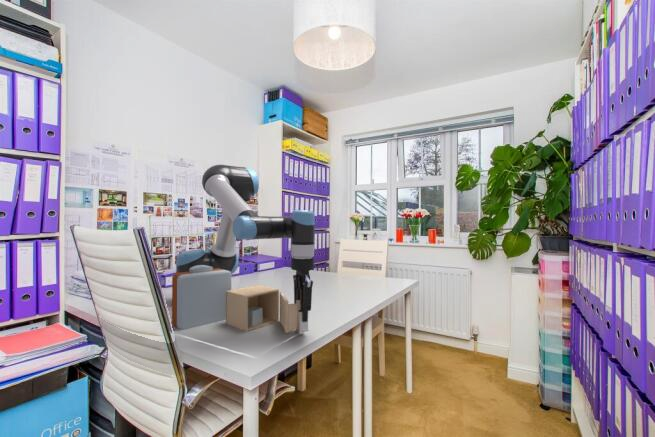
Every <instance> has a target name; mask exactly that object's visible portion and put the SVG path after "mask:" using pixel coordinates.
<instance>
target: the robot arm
mask: <svg viewBox="0 0 655 437" xmlns="http://www.w3.org/2000/svg"><path fill="white" fill-rule="evenodd" d="M259 180H260V179H259V176H258V174H257V172H256V170H254V169H252V168H248V167H245V166H244V167H243V166H233V165H226V164H215V165H212V166H211V167H209V168H207V170H205V171H204V173H203V175H202V178H201V185H202V188H203V190H204V191H205V192H206V194H207V195H208V196H210V197H211V198H213V199H215V201H216V202H217V203H218V204H219V206H220V207H221V208H222V212H221V218H220V221H219V227H218V229H217V236H216V240H215V243H214V244H212V245H211V247H210V250H209V251H207V252H206V251H205V249H204V248H203V249H202V248H201V249H192V250H185V251H182V252H179V253H178V254H177V255H176V260H175V262H176V263H175V268H176V269H175V272H176V273H181V272H189V269H190V268H191V267H194V266H197V265H207V266H211V267H213V269H217V268H219V269H223V270H227V271H230V272H231V275H232V274H234V273H235V272H236V271H237V269H238V267H239V265H240V264H239V262H240V261H239V254H238V252H237V250H236V248H235V247H236V246H235V245H236V242H237V239H238V240H239V241H240V240H245V241H251V240H268V239H271V240H273V239H274V240H275V239H291V244H290V245H291V246H290V256H291V257H292V258H291V260H290V268H291V270H293V271H296V272H295V274H293V275H292V277H293V297H294V298H293V304H295V303H296V300H300V303H301V310H299V312H300V316H299V332H302V333H304V332H309V312H310V311H312V301H313V300H312V299H313V298H312V295H313V284H314V281H313V280H311V275H310V271H313V270H314V269H315V258H314V256H315V250H316V246H315V232H316V231H315V229H316V226H315V225H316V222H315V219H316V218H315V213H314V211H312V210H307V209H306V210H303V209H301V210H299V209H295V210H292V212H291V216H283V215H281V216H268V215H267V216H265V215H264V216H263V215H261V216H259V215H258V214H257V213H256V212H255V211H254V210H253V209H252V208H251V206H250V205H249V204H248V203H249V202H250V200H251V197H252V196H255V195H256V194H257V193H258V192H259V189H260V188H259V187H260V181H259ZM176 273H175V274H176Z"/></svg>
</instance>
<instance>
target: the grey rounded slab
mask: <svg viewBox="0 0 655 437" xmlns="http://www.w3.org/2000/svg"><path fill="white" fill-rule="evenodd" d="M171 278H172V279H171V280H172V281H171V284H172V285H171V288H172V289H171V290H172V292H171V308H172V309H171V323H172V325H173V326H174V327H176V328H178V329H179V330H183V331H184V330H189V329H192V328H196V327H200V326H204V325H209V324H213V323H217V322H218V323H219V322H223V321H226V291H229V290H232V274H231V272H230V271H227V270H223V269H219V268H217V269H213V267H211V266H207V265H197V266H194V267H191V268H190V269H189V272H181V273H173V275H172V277H171Z"/></svg>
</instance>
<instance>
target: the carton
mask: <svg viewBox="0 0 655 437" xmlns="http://www.w3.org/2000/svg"><path fill="white" fill-rule="evenodd" d="M251 306H255V307H261V308H263V322H261V323H258V324H256V325H254V326H251V325H248V307H251ZM276 322H280V289H279V288H275V287H270V286H266V285H261V284H256V285H250V286H245V287H241V288H235V289H231V290H229V291H226V320H225V324H226V325H229V326H232V327H235V328H237V329H240V330H242V331H245V332H248V331H251V330H255V329H258V328H261V327H264V326H266V325H267V326H268V325H271V324H274V323H276Z"/></svg>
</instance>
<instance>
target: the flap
mask: <svg viewBox="0 0 655 437" xmlns="http://www.w3.org/2000/svg"><path fill="white" fill-rule="evenodd" d="M299 310H301V303H300V300H296V303H295V304H294V303H289V300H288V299H287V297H286V296H285V294H284V293H283V291H281V292H280V291H279V322H280V323H281V325H282V326H281V327H282V328H283V330H284V332H285V333H286V334H287V333H288V334H289V331H292V330H294V331H295V333H297V334H301V333H303V332H299V316H300V312H299Z"/></svg>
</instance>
